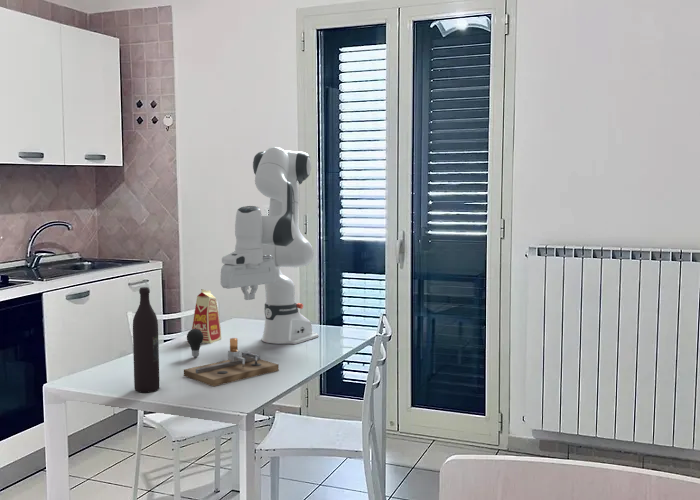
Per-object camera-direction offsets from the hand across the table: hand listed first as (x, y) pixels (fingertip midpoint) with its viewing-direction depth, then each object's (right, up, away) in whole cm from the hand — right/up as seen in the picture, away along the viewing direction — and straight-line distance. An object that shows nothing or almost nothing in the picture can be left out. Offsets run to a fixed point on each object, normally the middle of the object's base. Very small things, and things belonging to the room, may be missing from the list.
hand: (249, 299), depth 230 cm
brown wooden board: (-5, -23, -5) cm, 24 cm away
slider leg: (-3, -21, -4) cm, 21 cm away
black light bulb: (-21, -21, +15) cm, 33 cm away
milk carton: (-22, -19, +42) cm, 51 cm away
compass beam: (-4, -21, -5) cm, 22 cm away
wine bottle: (-27, -25, -23) cm, 43 cm away
